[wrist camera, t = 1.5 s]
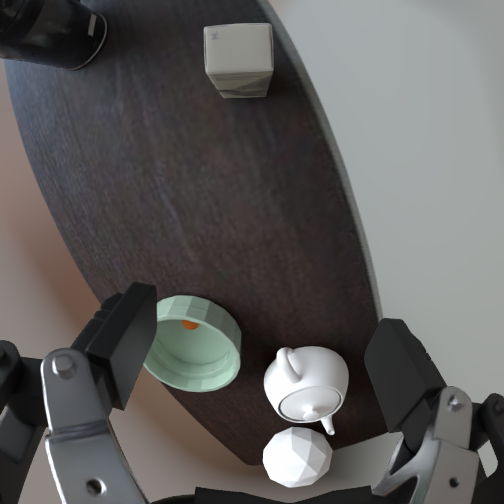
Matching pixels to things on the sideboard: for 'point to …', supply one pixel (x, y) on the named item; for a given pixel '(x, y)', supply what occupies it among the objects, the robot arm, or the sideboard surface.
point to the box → (239, 58)
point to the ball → (189, 324)
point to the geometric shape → (297, 457)
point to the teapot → (307, 384)
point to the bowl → (194, 345)
